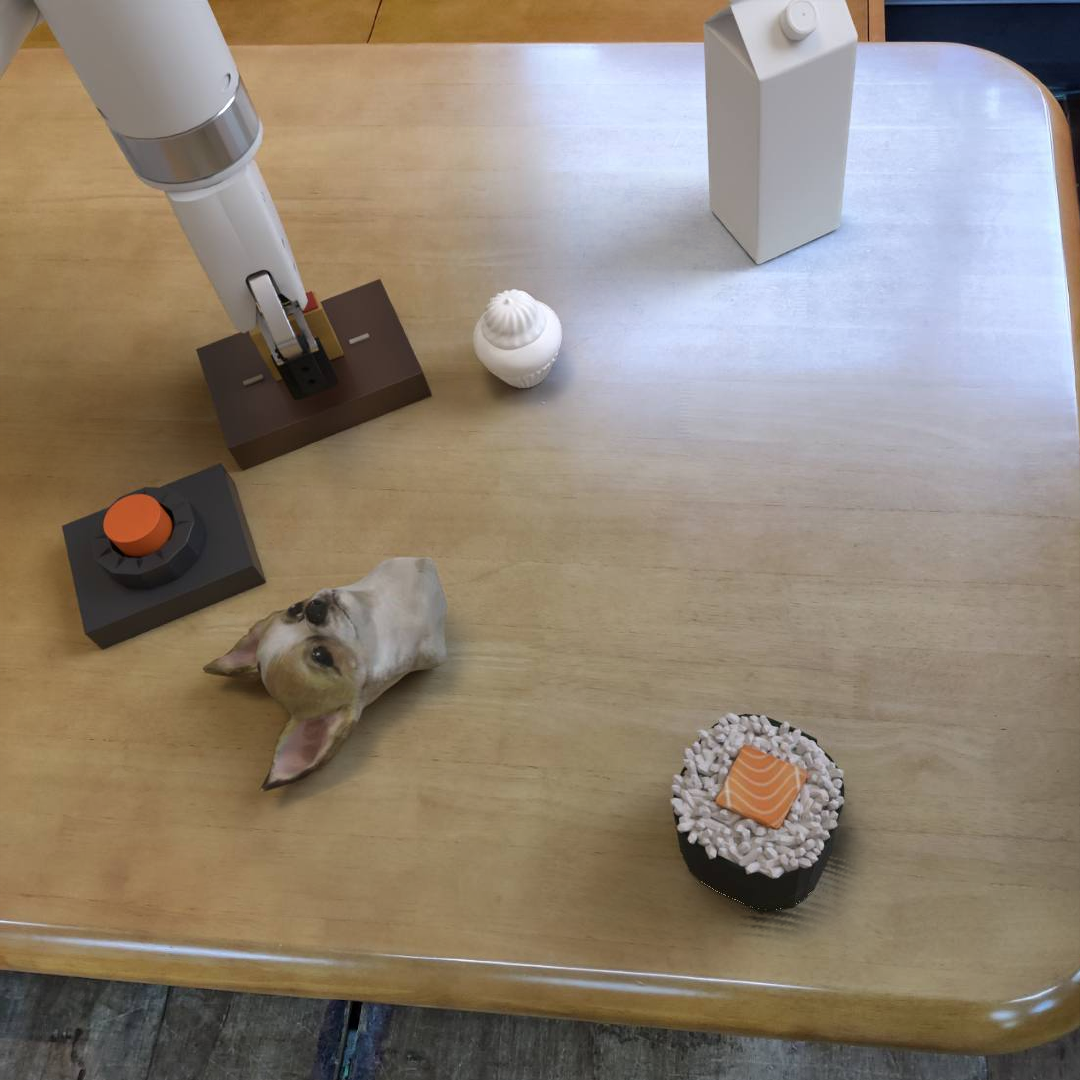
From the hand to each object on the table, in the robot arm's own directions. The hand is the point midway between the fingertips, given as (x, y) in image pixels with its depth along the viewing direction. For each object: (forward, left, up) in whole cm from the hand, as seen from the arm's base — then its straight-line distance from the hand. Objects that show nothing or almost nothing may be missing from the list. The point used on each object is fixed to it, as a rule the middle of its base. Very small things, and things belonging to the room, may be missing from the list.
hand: (298, 343), depth 75 cm
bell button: (-9, -14, -1) cm, 17 cm away
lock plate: (0, 0, -4) cm, 4 cm away
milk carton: (+34, +11, -4) cm, 36 cm away
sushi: (+27, -36, -4) cm, 45 cm away
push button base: (-9, -14, -4) cm, 17 cm away
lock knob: (0, 0, -2) cm, 2 cm away
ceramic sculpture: (+4, -24, -4) cm, 25 cm away
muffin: (+15, -1, -4) cm, 16 cm away
